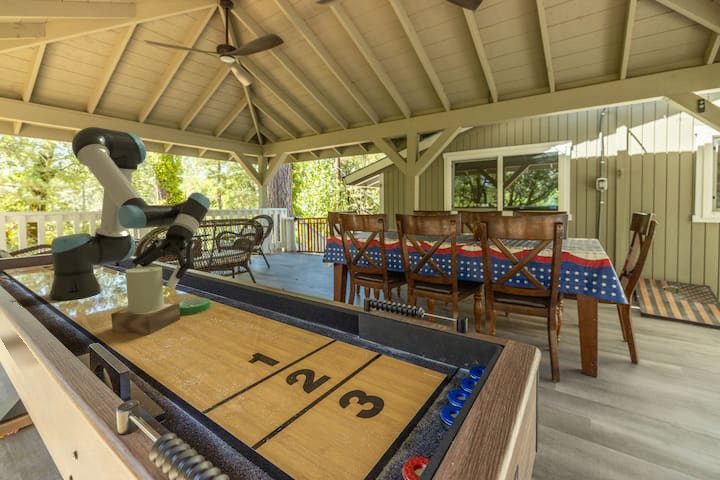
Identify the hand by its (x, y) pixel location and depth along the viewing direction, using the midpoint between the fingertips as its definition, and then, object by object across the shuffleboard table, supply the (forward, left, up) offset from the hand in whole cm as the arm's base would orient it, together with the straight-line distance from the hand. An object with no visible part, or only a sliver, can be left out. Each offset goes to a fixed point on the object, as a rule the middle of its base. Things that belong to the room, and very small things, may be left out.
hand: (149, 286), depth 100 cm
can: (0, -1, -6) cm, 6 cm away
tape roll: (+3, +14, -12) cm, 19 cm away
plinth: (0, -2, -11) cm, 11 cm away
